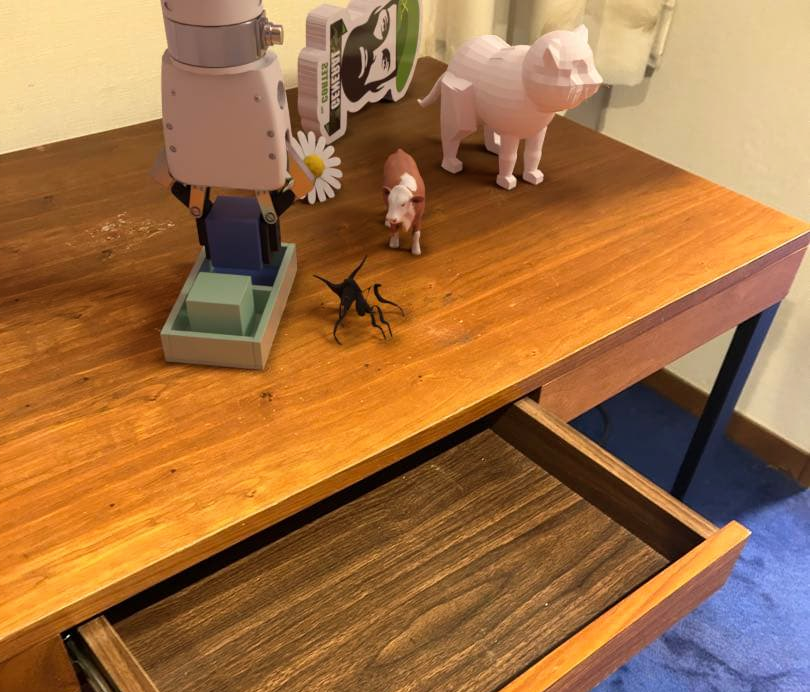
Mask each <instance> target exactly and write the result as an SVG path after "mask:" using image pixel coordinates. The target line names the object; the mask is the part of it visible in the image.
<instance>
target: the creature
mask: <svg viewBox="0 0 810 692" xmlns="http://www.w3.org/2000/svg"><path fill="white" fill-rule="evenodd" d="M367 258H368V254H366V253H365V255H364V258H363V260H362V261H361V262H360V264H359V265H358V266H357V267H356V268H355V269H353V271H352V272H351V273H350V275H349V276H348V277H347V278H344V279H343V281H342V282H340V283H334V282H331V281H329V280H328V279H326V278H324V277H321V276H318V275H316V274H313V275H312V277H315V278H317V280H320V281H322V282H323V283H325V284H326V286H327V287H328V288H329V289H330V290H331V292H333V293H334V294H335V295H336V296H337V297H338V298H339V299H340V303H339V307H338V308H339V310H338V319H337V320H336V322H335V324H334V327H333V330H332V331H333V332H332V333H333V334H332V335H333V338H334V340H335V342H336V343H337V344H338V345H340V346H342V345H343V343H341V342H340V341H339V339H338V338H337V336H336V334H337V331H338V327H339V325H340V323H341V326H342V328H345V327H344V323H342V322H343V320H344V319H345V317H346V316H347V314H348V312H349V310H350V309H351V307H352V305H353V303H354V302H355V303H354V304H355V305H354V306H355V312H356V314H357V315H358V316H359V317H362V318H363V317H364V316H366V314H370V318H371V326H372V327H373V328H378V329H379V330H380V331H381V333H382V337H383V339H384V341H387V337H386V334H385V331H384V330H383V327H382V326H381V325H379V324H377V323H376V321H377V320H376V316H375V314H376V311H373V310H374V307H375V308H376V309H377V312H378V316H379V321H380V322H381V324H383V325H386V326H387V328H388V333H389V336H390V337H391V338H394V337H393V333H392V329H391V324H390V323H389V322H388V321H387V320H385V318H384V314H383V311H382V309H381V307H380V306H379V305H376V304H374V305H372V306H371V305H370V304H369V303H368V298H369V297H368V296H369V293H370V290H371V289H372V288H373V293H374V297H375V298H376V299H377V301H378V302H379V303H382V304H386V305H387V304H388V305H392V306H394V307H397V308H399V310H400V311H401V313H402V317H405V313H404V311H403V309H402V308H401V307H400V305H399V304H397V303H395V302H393V301H390V300H388V299H385V298H384V297H383V296H382V295H381V294H380V292H379V288H381V287H383V285H382V284H381V283H374V284H373V285H370V286H369V287H367V288H365V289H364V290H362V288H361V286H359V284H358V282H357V280H355V276H356V275H357V274H358V272H359V271H360V270H361V269H362V268H363V266H364V264H365V262H366V260H367ZM367 290H368V291H367ZM366 291H367V292H368V293H367V296H366V298H365V296H364V293H365V292H366ZM342 307H343V312H342Z"/></svg>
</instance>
